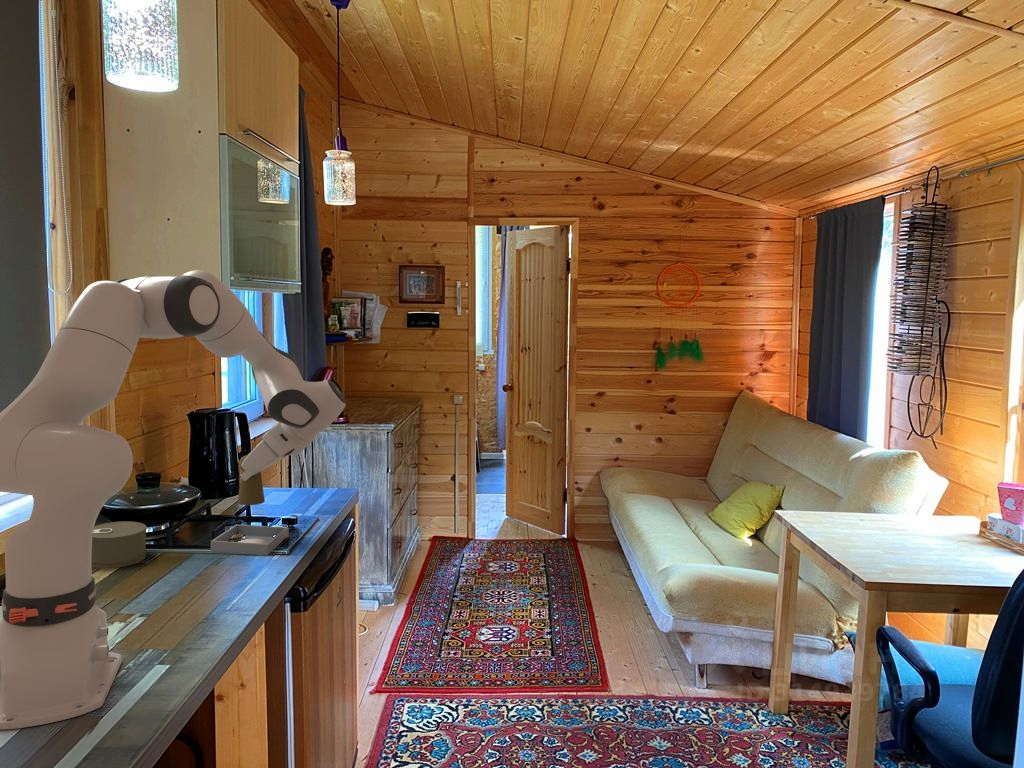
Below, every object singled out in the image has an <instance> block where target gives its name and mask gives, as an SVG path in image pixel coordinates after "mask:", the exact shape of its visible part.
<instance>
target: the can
mask: <svg viewBox="0 0 1024 768" xmlns="http://www.w3.org/2000/svg"><path fill="white" fill-rule="evenodd" d="M146 533H147V525H146V524H145V523H142V522H140V521H131V520H129V521H126V520H125V521H124V520H122V521H112V522H105V523H100V524H96V525H94V529H93V535H92V568H95V569H96V568H97V569H119V568H124V567H127V566H128V567H129V566H132V565H135V564H138V563H140V562H142V561H143V560H145V559H146V558H147V557H146V555H147V554H146V551H147V548H146V545H147V541H146V540H147V539H146V537H147V536H146V535H147V534H146Z"/></svg>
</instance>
